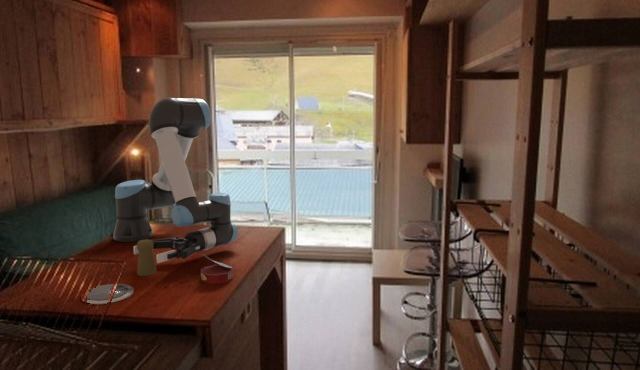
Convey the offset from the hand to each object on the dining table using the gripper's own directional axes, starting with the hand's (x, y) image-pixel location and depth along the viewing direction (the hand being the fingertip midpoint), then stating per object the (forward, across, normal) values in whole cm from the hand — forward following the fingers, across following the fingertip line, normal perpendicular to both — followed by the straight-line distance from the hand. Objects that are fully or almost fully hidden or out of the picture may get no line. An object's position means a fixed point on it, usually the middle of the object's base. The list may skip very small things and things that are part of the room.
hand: (145, 254), depth 150 cm
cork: (-1, 0, -7) cm, 7 cm away
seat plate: (+16, -7, -6) cm, 19 cm away
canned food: (-12, -21, -7) cm, 25 cm away
